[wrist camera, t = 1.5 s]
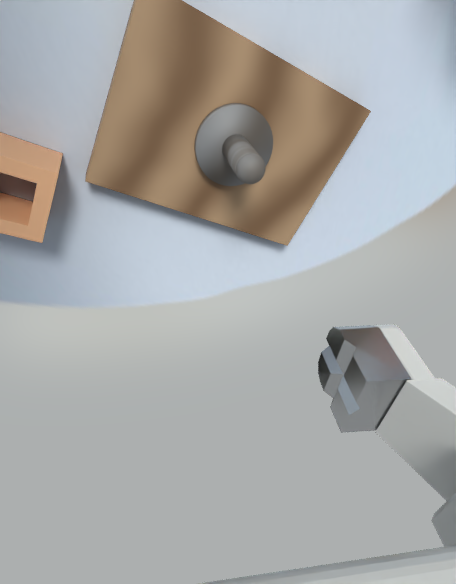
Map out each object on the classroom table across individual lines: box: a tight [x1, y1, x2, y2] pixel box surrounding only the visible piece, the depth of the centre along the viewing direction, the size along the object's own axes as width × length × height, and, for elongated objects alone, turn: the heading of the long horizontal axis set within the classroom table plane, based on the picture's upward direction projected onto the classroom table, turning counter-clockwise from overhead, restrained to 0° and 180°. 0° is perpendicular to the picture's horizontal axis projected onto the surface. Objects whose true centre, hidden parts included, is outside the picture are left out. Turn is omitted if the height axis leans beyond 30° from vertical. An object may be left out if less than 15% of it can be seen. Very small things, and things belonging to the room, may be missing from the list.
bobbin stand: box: [85, 0, 371, 245], centre depth 30 cm, size 20×14×8 cm
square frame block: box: [0, 132, 63, 243], centre depth 29 cm, size 6×6×4 cm
